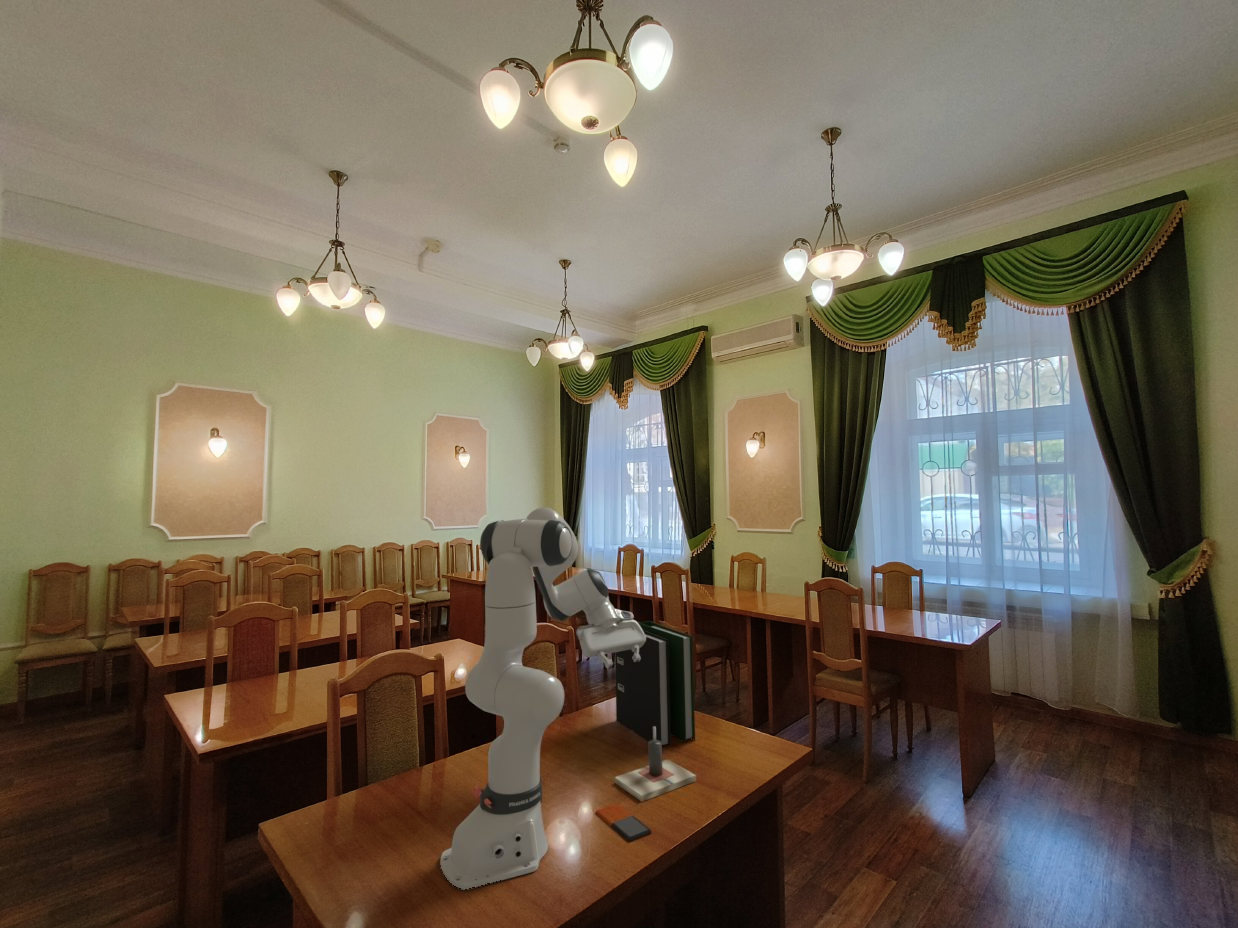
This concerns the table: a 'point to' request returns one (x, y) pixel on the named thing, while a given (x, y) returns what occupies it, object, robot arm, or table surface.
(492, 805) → the robot arm
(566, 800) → the table surface
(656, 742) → the grey cylinder with rod
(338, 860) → the table surface
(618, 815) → the phone
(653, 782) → the cream flat block
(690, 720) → the binder
